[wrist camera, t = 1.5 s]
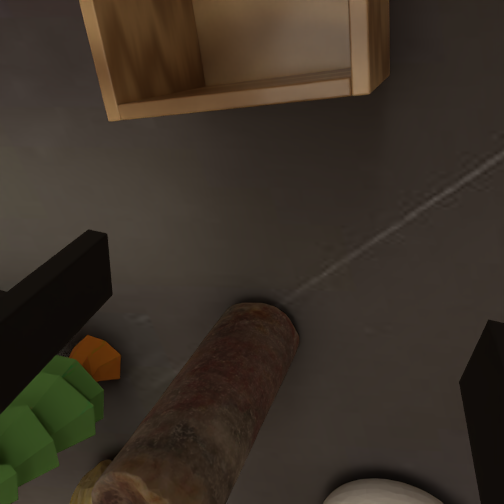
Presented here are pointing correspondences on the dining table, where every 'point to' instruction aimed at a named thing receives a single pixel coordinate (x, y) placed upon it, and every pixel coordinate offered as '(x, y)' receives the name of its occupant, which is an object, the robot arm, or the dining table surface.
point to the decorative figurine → (379, 493)
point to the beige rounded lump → (88, 484)
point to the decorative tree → (54, 413)
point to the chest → (233, 52)
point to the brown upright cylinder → (206, 415)
